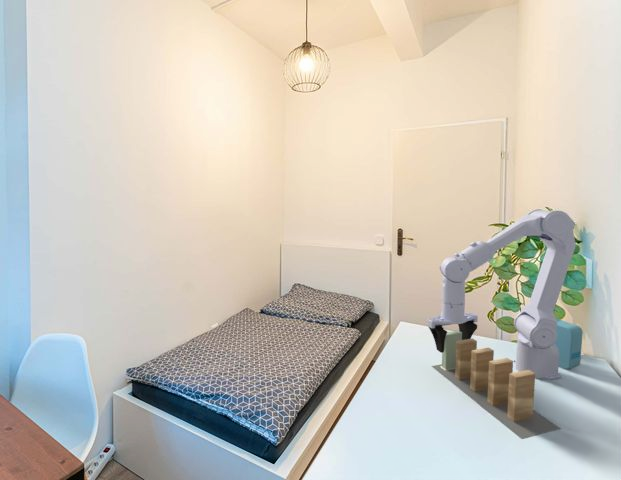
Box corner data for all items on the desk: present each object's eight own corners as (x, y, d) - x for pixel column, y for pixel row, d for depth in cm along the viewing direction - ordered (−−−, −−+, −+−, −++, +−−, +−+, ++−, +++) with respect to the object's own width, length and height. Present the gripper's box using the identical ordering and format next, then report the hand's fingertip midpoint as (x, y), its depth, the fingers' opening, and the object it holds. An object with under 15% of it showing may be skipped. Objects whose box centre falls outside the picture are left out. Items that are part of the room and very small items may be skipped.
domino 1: (455, 377, 85) (456, 341, 84) (471, 374, 86) (472, 338, 85) (459, 380, 84) (460, 343, 82) (475, 377, 85) (476, 341, 83)
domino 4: (507, 417, 69) (509, 373, 68) (525, 412, 70) (528, 369, 69) (513, 422, 68) (516, 377, 66) (532, 417, 69) (535, 373, 68)
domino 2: (470, 388, 80) (471, 350, 79) (487, 385, 81) (488, 347, 80) (474, 392, 78) (476, 353, 77) (492, 388, 79) (493, 350, 78)
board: (461, 363, 93) (461, 360, 93) (561, 432, 66) (561, 428, 65) (431, 368, 91) (431, 365, 91) (521, 442, 63) (521, 438, 63)
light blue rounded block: (580, 368, 89) (583, 326, 88) (569, 371, 88) (572, 329, 86) (536, 349, 100) (539, 312, 99) (526, 352, 99) (528, 315, 97)
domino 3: (487, 401, 74) (489, 361, 73) (505, 398, 76) (507, 357, 74) (492, 406, 73) (494, 364, 72) (510, 402, 74) (513, 361, 73)
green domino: (441, 366, 90) (442, 332, 89) (457, 364, 92) (458, 330, 90) (445, 369, 89) (446, 335, 88) (460, 366, 90) (462, 332, 89)
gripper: (465, 294, 93) (464, 339, 95) (421, 300, 90) (420, 346, 92) (484, 302, 87) (482, 350, 88) (436, 308, 83) (436, 357, 85)
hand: (452, 349), depth 90 cm, fingers open, 7 cm apart
